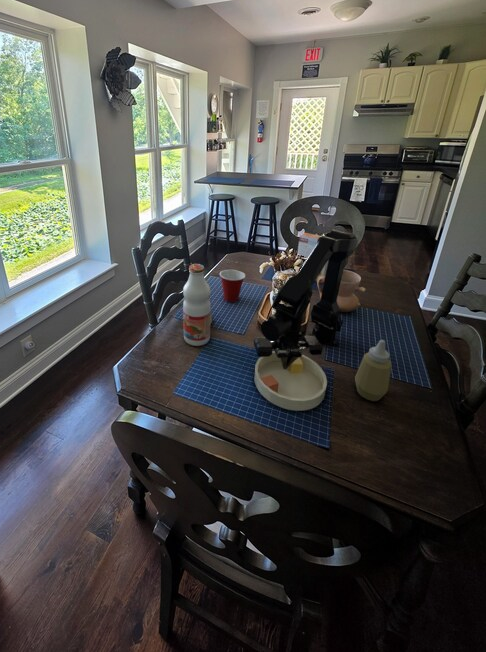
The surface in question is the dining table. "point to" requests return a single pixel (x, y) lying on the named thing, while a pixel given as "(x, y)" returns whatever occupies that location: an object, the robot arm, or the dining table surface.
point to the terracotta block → (271, 383)
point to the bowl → (291, 383)
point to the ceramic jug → (346, 291)
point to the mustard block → (296, 366)
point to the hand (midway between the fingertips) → (284, 368)
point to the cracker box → (310, 249)
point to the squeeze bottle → (374, 373)
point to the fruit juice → (196, 307)
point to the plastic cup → (231, 284)
